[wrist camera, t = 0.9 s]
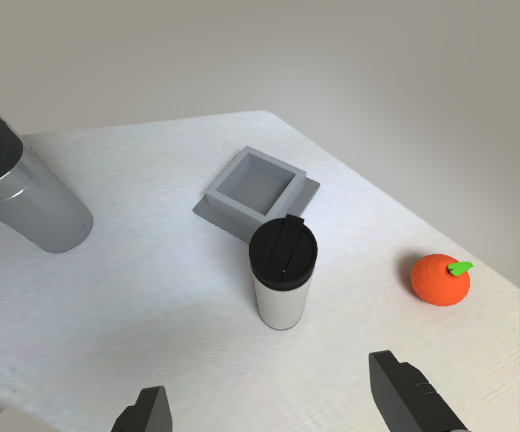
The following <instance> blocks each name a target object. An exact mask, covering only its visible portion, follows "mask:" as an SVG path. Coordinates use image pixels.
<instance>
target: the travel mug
mask: <svg viewBox="0 0 520 432" xmlns="http://www.w3.org/2000/svg"><path fill="white" fill-rule="evenodd" d="M303 223H304V219H302V218H300V217H297V216H294V215H291V214H287V215H286V217H285V218H276V219H273V220H270V221H268V222H266V223H264V224H263V225H261V226H260V227H259V228H258V229H257V230H256V231H255V233H254V234H253V236H252V238H251V241H250V244H249V257H250V265H251V272H252V277H253V282H254V288H255V293H256V299H257V304H258V309H259V314H260V317H261V319H262V321H263V322H264V323H265V324H266V325H267V326H268V327H270V328H272V329H275V330H280V331H282V330H288V329H290V328H292V327H294V326H295V325H296V324H297V323H298V322H299V320H300V318H301V316H302V312H303V309H304V305H305V301H306V298H307V294H308V290H309V287H310V283H311V279H312V276H313V272H314V268H315V262H316V258H317V251H318V247H317V242H316V239H315V237H314V235H313V233H312V232H311V230H310V229H309V228H308V227H307V226H305V225H304V224H303Z"/></svg>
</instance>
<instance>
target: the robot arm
mask: <svg viewBox="0 0 520 432" xmlns="http://www.w3.org/2000/svg"><path fill="white" fill-rule="evenodd" d="M0 220H1V221H2V222H4V223H5V224H7V225H8V226H10V227H11V228H13V229H14V230H16V231H17V232H19V233H20V234H21V235H23V236H24V237H26V238H27V239H29V240H30V241H32V242H33V243H35V244H36V245H38V246H39V247H40V248H42V249H43V250H45V251H48V252H53V253H58V252H63V251H67V250H69V249H72V248H74V247H75V246H77V245H78V244H80V243H81V242H82V241H83V240H84V239H85V238H86V237H87V235H88V234H89V232H90V230H91V227H92V222H93V220H92V216H91V213H90V212H89V211H88V210H87V209H86V208H85V207H84V206H83V204H82V203H81V202H80V201H79V200H78V199H77V198H76V197H75V196H74V195H73V194H72V193H71V192H70V191H69V190H68V189H67V188H66V186H65V185H64V184H63V183H62V182H61V181H60V180H59V179H58V178H57V177H56V176H55V175H54V174H53V173H52V172H51V171H50V170H49V169H48V168H47V167H46V165H45V164H44V163H43V162H42V161H41V160H40V159H39V158H38V157H37V156H36V155H35V154H34V153H33V152H32V151H31V150H30V149H29V148H28V147H27V146H26V145H25V144H24V143H23V142H22V141H21V140H20V138H19V137H18V136H17V135H16V134H15V133H14V132H13V131H12V130H11V129H10V128H9V127H8V126H7V125H6V123H5V122H4V121H3V120H2V119H1V118H0ZM369 370H370V385H371V391H372V395H373V398H374V401H375V404H376V406H377V408H378V409H379V411H380V413H381V415H382V417H383V419H384V421H385V423H386V425H387V426H388V428H389V430H390V432H471V431H469V430H468V429H467V428H466V427H465V426H464V424H463V423H462V422H461V421H460V419H459V418H458V417H457V416H456V414H455V413H454V412H453V411H452V410H451V408H450V407H449V406H448V405H447V403H446V402H445V401H444V400H443V399H442V397H441V396H440V395H439V394H437V392H436V390H435V389H434V387H433V386H432V385H431V384H429V381H428V380H427V379H426V378H425V376H424V375H423V374H422V373H421V371H420V370H418V369H417V368H415V367H414V366H412V365H411V364H409V363H408V362H403V363H399V362H398V361H397V359H396V358H395V357H394V355H393V354H392V353H391V351H389V350H385V351H379V352H373V353H369ZM111 432H172V417H171V413H170V408H169V404H168V400H167V396H166V391H165V388H164V386H156V387H150V388H144V389H142V390H141V392H140V394H139V397H138V399H137V401H136V404H135V405H133V406H128V407H127V408H126V409H125V410H124V411H123V412H122V414H121V415H120V416H119V417H118V418H117V419H116V422H115V424H114V426H113V428H112V430H111Z"/></svg>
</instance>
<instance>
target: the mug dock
mask: <svg viewBox="0 0 520 432" xmlns="http://www.w3.org/2000/svg"><path fill="white" fill-rule="evenodd" d="M319 187H320V183H318V182H316V181H314V180H311V179H309V178H307V177H306V172H305V171H303V170H301V169H299V168H296V167H294V166H292V165H289V164H287V163H285V162H283V161H280V160H278V159H276V158H274V157H271V156H269V155H267V154H265V153H262V152H260V151H258V150H256V149H253V148H251V147H249V146H246V147H245V148H244V149H243V150H242V151H241V152H240V153H239V154H238V156H237V157H236V158H235V159H234V160H233V161H232V162H231V163H230V165H229V166H228V167H227V168H226V169H225V170H224V171H223V172H222V174H221V175H220V176H219V177H218V178H217V179H216V180H215V182H214V183H213V184H212V185H211V186H210V187H209V188H208V189H207V191H206V192H205V194H206V195H205V196H204V197H203V199H202V200H201V201H200V202H199V203H198V204H197V205H196V206H195V208H194V209H193V212H194V213H195V214H197V215H199V216H201V217H202V218H204V219H206V220H208V221H209V222H211V223H213V224H215V225H217V226H218V227H220V228H222V229H224V230H225V231H227V232H229V233H231V234H233V235H234V236H236V237H238V238H240V239H241V240H243V241H245V242H247V243H249V244H250V241H251V238H252V236H253V234H254V233H255V231H256V230H257V229H258V228H259V227H260V226H261V225H263V224H264V223H266V222H268V221H270V220H273V219H276V218H285V217H286V215H287V214H291V215H294V216H297V217H300V216H301V214H302V213H303V211H304V210H305V208H306V207H307V205H308V204H309V202H310V201H311V199H312V198H313V196H314V195H315V193H316V192H317V190H318V189H319Z"/></svg>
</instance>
